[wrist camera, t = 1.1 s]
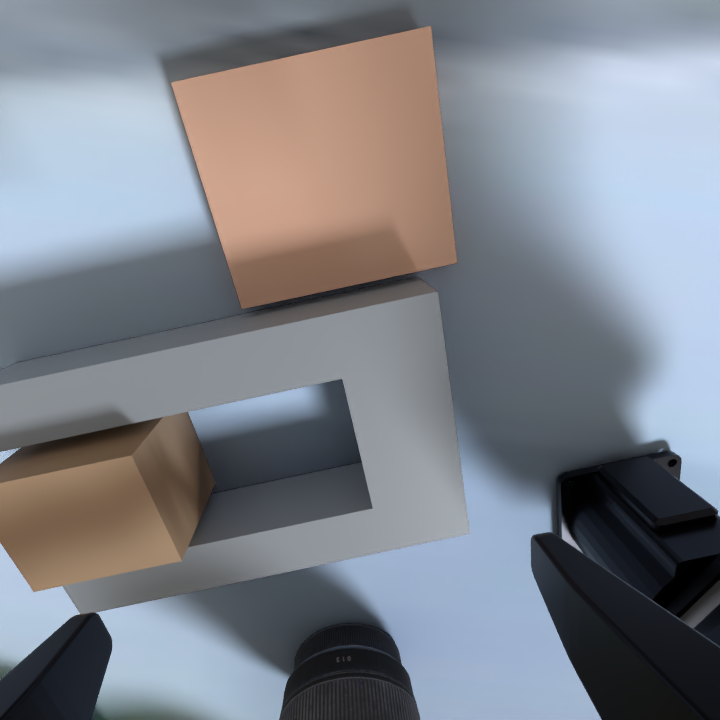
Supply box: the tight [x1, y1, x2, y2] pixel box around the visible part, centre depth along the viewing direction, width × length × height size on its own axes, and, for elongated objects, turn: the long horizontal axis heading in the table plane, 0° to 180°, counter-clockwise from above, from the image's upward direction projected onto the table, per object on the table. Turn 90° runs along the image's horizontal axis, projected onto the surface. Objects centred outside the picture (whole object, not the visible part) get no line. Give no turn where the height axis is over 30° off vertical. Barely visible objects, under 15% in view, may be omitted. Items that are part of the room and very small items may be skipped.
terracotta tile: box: [171, 26, 457, 309], centre depth 15 cm, size 8×9×1 cm
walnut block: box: [0, 412, 216, 592], centre depth 17 cm, size 5×6×5 cm
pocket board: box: [0, 277, 470, 614], centre depth 18 cm, size 11×18×4 cm, turn 101°
